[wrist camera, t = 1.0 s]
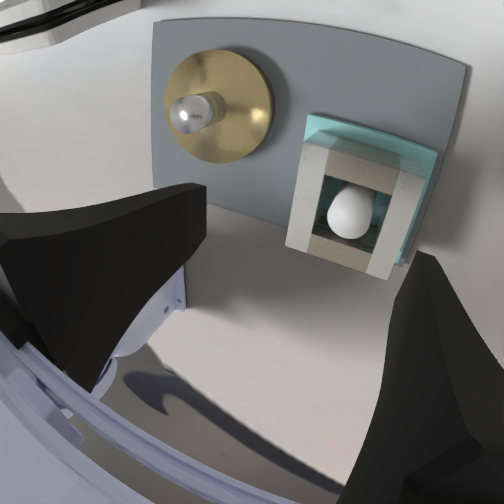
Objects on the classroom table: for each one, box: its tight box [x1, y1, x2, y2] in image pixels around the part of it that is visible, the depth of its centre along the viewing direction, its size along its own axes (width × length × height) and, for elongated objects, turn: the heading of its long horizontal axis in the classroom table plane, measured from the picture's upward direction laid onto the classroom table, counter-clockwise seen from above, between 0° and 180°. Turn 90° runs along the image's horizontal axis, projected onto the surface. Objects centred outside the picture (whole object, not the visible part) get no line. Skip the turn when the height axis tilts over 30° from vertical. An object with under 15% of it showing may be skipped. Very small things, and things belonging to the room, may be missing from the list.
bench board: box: [151, 19, 466, 267], centre depth 17 cm, size 12×18×1 cm
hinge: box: [0, 0, 142, 56], centre depth 14 cm, size 17×5×10 cm, turn 76°
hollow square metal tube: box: [285, 130, 426, 281], centre depth 15 cm, size 6×6×3 cm
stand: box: [304, 113, 438, 263], centre depth 15 cm, size 7×7×4 cm
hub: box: [164, 50, 275, 164], centre depth 16 cm, size 7×7×4 cm
